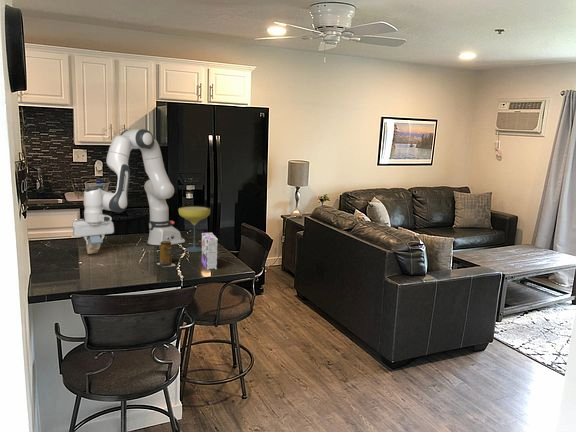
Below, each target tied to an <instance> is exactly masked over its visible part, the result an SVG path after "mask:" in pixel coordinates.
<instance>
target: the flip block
mask: <svg viewBox="0 0 576 432" xmlns="http://www.w3.org/2000/svg"><path fill="white" fill-rule="evenodd" d="M87 240H89V241H90V244H86V243H85V244H86V245H85V248H86V252H87V254H88V255H90V254H98V253H99V250H100V248H101V245H102V243H101V235H93V236H88V237H87Z"/></svg>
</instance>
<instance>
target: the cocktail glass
mask: <svg viewBox="0 0 576 432" xmlns="http://www.w3.org/2000/svg"><path fill="white" fill-rule="evenodd" d="M178 215H179V216H180V217H181V218H183V219H184V220H187V221H189V222H190V223H191V224H192V225H193V244H192V245H193V246H189V247H185V249H184V251H186V252H189V253H199V252H202V246H201V247H200V246H196V225H197V224H198V223H199V222H201V221H202V220H204V219H206V218H208V217H209V216H210V215H211V207H209V206H206V205H194V204H193V205H192V204H191V205H181V206H179V208H178Z"/></svg>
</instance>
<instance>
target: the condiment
mask: <svg viewBox="0 0 576 432" xmlns="http://www.w3.org/2000/svg"><path fill="white" fill-rule="evenodd" d="M172 261H173V249H172V245H171V242H170V241H162V242H161V245H159V262H157V263H156V264H157V265H158V266H160V267H161V268H168V267H169V268H170V267H175V266H177V265H176V264H175V263H172Z"/></svg>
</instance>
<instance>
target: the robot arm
mask: <svg viewBox="0 0 576 432" xmlns="http://www.w3.org/2000/svg"><path fill="white" fill-rule="evenodd" d="M132 150H140V152H141V157H142V161H143V166H144V172H145V173H146V174H147V176H148V179H147V180H146V181H145V183H144V187H143V188H144V190H145V193H146V197H147V202H148V206H149V220H148V221H149V222H148V228H149V231H148V232H149V235H148V239H147V241H146V242H147V244H148V245H153V246H160V245H161V242H162V241H170V242H171V246H172V245H177V244H182V243H186V240H185V238H183V237H182V234H181V232H180V231H179V229H177V228H176V227H174V226H173V225H174V224H175V221H173V220H170V219H169V218H170V217H169V215H170V214H169V206H168V203H167V199H171V198H172V197H173V196H174V194H175V187H174V185H173V183H172V182H171V180H170V178H169V176H168V174H167V171H166V168H165V163H164V161H163V155H162V151H161V147H160V145H159V143H158V140H156V138H155V137H154V135H153V134H152V132H151V131H150V130H148V129H143V128H141V129H140V128H134V129H133V128H132V129H125V130H124V131H122V132H121V133H120V134H118V135H116V136H114V137H113V139H112V141H111V143H110V145H109V148H108V151H107V155H106V161H105V163H106V165H107V167H108V169H110V170H111V171H112V172H114V173H115V174H116V176H117V182H116V183H117V184H116V190H115V192H109V191H105V190H104V189H101V187H100V186H91V187H90V186H89V187H87V188H85V190H84V192H83V206H84V210H83V215H84V216H83V218H76V219H74V220H73V221H72V223H71V224H72V235H73V236H74V237H75V238H82V237H83V239H84V240H85V244H90V241H89V240H88V237H89V236H93V235H100V238H101V244H103V239H104V238H105V235H109V234H110V235H111V234H114V233H115V226H114V225H115V224H114V222H113V221H112V220H113V219H112V216H110V215H108V214H105V213H103V210H105V211H110V212H114V213H119V214H120V213H122V212H124V211H126V208H127V207H128V203H129V200H128V199H129V198H128V194H129V184H130V176H131V170H130V167H129V159H130V155H131V151H132Z"/></svg>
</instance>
